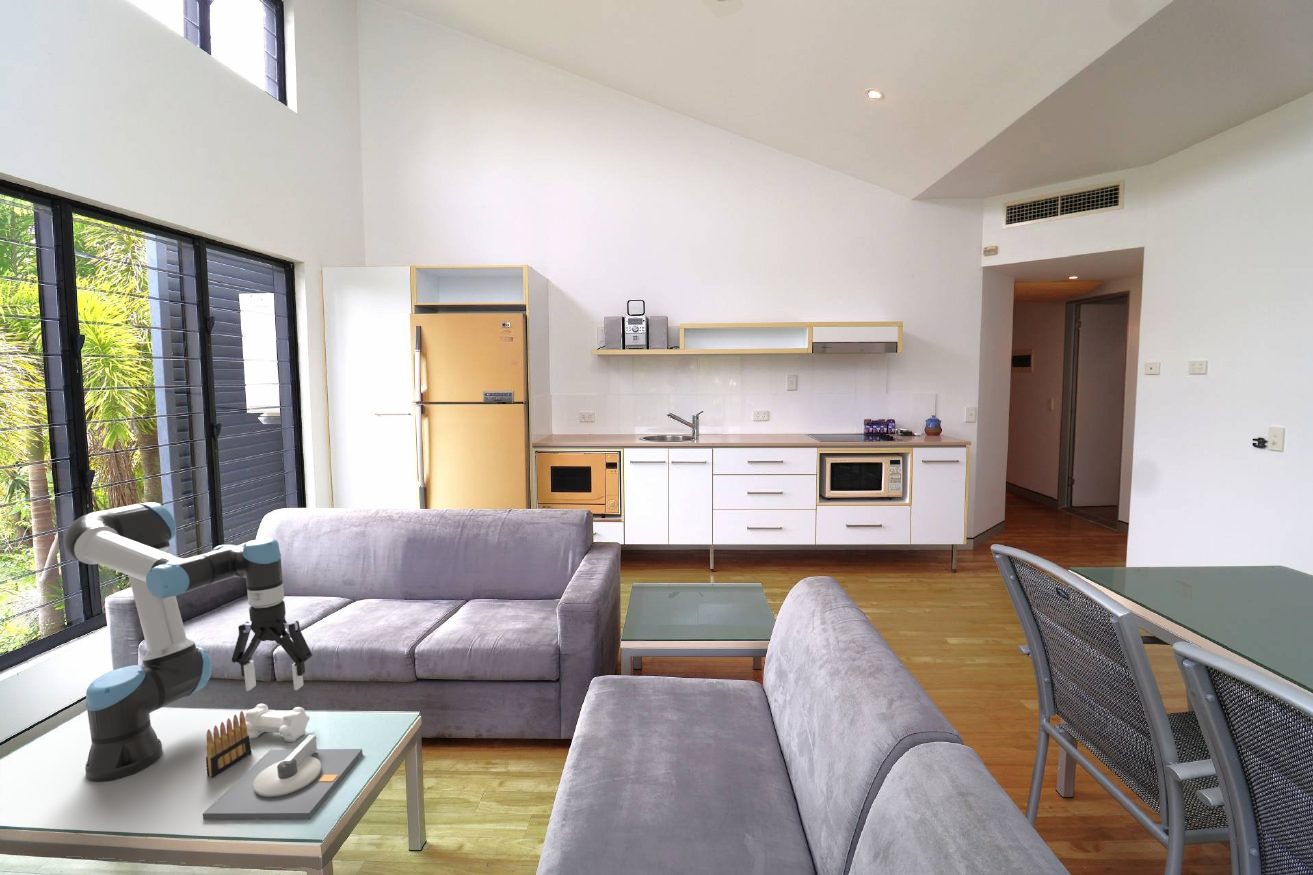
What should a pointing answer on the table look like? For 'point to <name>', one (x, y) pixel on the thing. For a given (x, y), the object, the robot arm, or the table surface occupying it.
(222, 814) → the dial base
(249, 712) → the white bone
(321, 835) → the table surface
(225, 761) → the ammunition clip
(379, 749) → the table surface
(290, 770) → the dial
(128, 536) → the robot arm
